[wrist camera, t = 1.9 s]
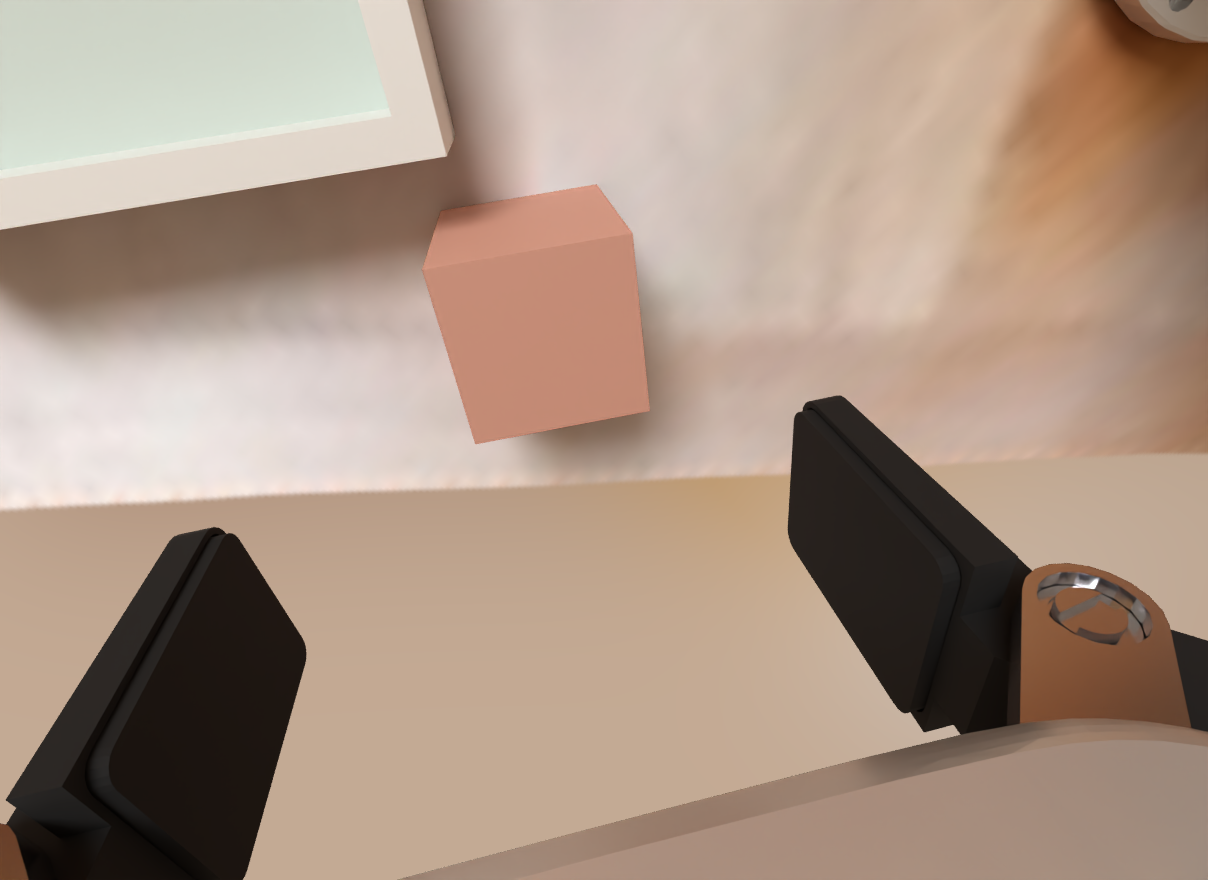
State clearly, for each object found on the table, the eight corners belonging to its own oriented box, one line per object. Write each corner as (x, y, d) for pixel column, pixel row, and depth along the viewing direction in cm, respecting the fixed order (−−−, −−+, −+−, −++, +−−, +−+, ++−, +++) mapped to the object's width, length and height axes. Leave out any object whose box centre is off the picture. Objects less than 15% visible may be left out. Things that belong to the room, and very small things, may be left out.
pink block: (596, 184, 19) (632, 233, 14) (614, 328, 22) (649, 410, 17) (440, 210, 19) (421, 269, 14) (479, 352, 22) (475, 444, 17)
